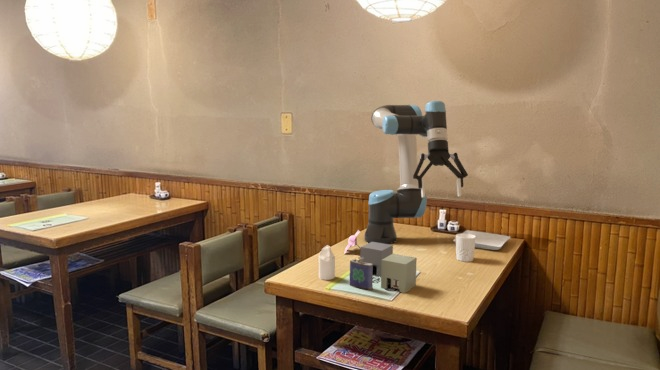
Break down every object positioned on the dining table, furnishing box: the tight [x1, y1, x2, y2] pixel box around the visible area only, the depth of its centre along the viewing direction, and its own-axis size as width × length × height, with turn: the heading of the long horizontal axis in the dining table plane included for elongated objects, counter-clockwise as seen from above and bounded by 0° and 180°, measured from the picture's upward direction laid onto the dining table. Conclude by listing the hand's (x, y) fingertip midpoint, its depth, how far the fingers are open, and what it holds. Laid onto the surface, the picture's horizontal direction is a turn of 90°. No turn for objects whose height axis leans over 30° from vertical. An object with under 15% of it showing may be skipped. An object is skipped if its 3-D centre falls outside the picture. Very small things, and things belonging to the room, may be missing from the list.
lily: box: [343, 229, 361, 255], centre depth 214 cm, size 12×12×10 cm
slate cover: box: [359, 242, 394, 277], centre depth 188 cm, size 9×9×10 cm
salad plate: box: [453, 229, 511, 251], centre depth 228 cm, size 21×21×3 cm
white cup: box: [455, 233, 476, 263], centre depth 204 cm, size 8×8×10 cm
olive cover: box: [380, 253, 418, 294], centre depth 172 cm, size 9×9×10 cm
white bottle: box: [318, 244, 336, 281], centre depth 181 cm, size 6×12×6 cm
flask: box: [349, 256, 374, 291], centre depth 171 cm, size 9×3×11 cm, turn 51°
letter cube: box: [390, 279, 400, 290], centre depth 172 cm, size 4×4×4 cm
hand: (441, 196), depth 185 cm, fingers open, 13 cm apart
